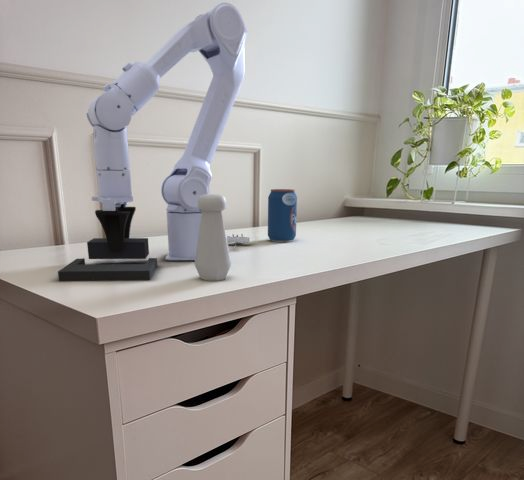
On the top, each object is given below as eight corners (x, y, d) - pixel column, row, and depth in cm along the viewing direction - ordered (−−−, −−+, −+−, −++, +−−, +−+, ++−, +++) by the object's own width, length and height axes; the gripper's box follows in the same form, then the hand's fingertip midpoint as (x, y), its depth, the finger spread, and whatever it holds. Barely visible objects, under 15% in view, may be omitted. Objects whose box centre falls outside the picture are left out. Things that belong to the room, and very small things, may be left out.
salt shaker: (188, 279, 82) (185, 194, 78) (205, 273, 87) (203, 193, 83) (222, 283, 80) (220, 195, 76) (237, 276, 85) (236, 194, 81)
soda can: (298, 242, 125) (299, 190, 121) (269, 242, 124) (270, 190, 120) (292, 238, 131) (294, 189, 127) (265, 238, 130) (266, 189, 126)
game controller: (246, 242, 123) (246, 231, 122) (259, 250, 113) (259, 238, 112) (223, 243, 122) (222, 232, 121) (233, 251, 111) (233, 238, 110)
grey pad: (149, 254, 98) (148, 238, 97) (145, 258, 93) (144, 242, 92) (95, 254, 97) (93, 238, 96) (88, 259, 92) (86, 242, 91)
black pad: (157, 266, 93) (156, 258, 92) (150, 280, 82) (149, 270, 81) (77, 267, 92) (76, 258, 91) (58, 281, 80) (57, 271, 80)
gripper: (98, 169, 97) (104, 243, 101) (79, 170, 83) (88, 255, 88) (136, 170, 97) (141, 243, 102) (124, 170, 84) (130, 254, 88)
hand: (119, 248), depth 95 cm, fingers closed on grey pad, 5 cm apart
